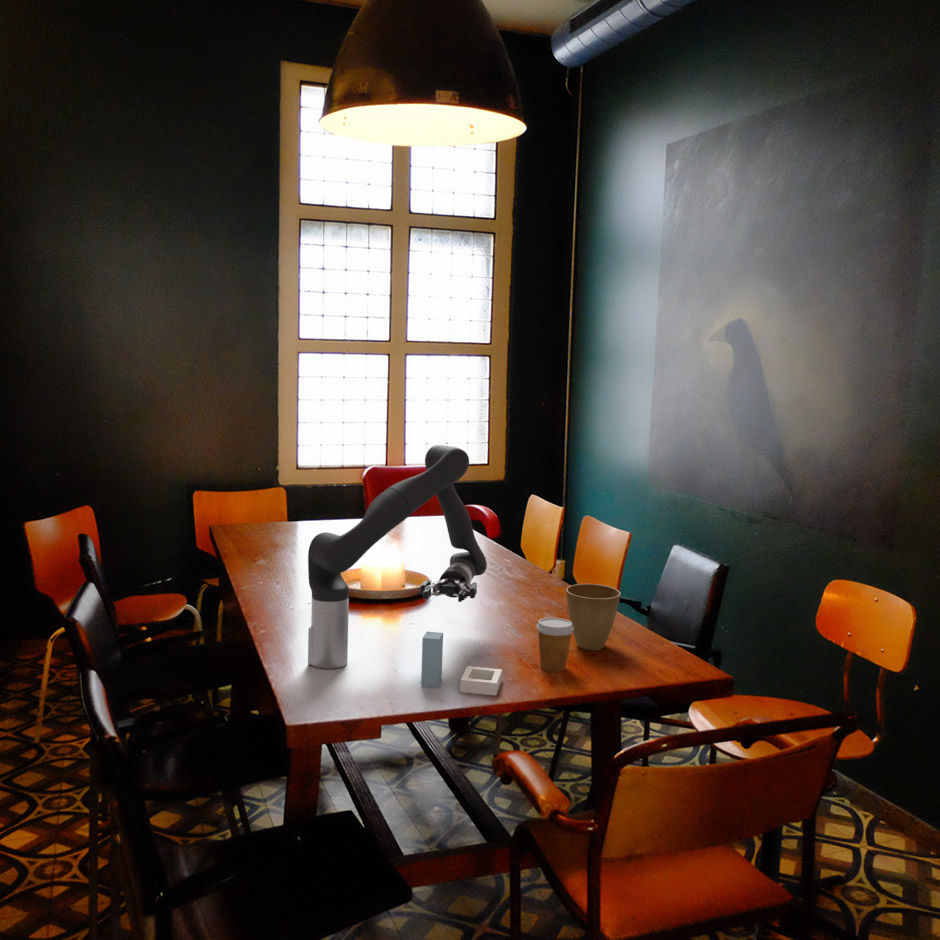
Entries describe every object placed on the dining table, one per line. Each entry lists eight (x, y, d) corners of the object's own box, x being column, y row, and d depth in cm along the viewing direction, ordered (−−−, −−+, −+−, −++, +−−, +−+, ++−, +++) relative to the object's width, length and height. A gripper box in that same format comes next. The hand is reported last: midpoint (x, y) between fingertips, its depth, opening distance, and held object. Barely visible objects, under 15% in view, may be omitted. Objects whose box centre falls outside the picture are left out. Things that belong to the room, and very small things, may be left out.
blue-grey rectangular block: (421, 686, 208) (422, 637, 207) (425, 679, 213) (427, 631, 212) (437, 687, 208) (439, 639, 206) (441, 680, 212) (443, 632, 211)
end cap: (460, 692, 205) (460, 679, 205) (466, 677, 215) (467, 666, 214) (496, 695, 204) (496, 683, 204) (501, 681, 213) (501, 669, 213)
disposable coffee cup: (568, 661, 230) (571, 617, 228) (574, 674, 220) (576, 628, 219) (532, 660, 229) (534, 616, 228) (536, 673, 220) (538, 627, 218)
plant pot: (554, 640, 247) (557, 585, 245) (600, 636, 252) (603, 582, 250) (578, 657, 233) (582, 599, 231) (627, 652, 239) (630, 595, 237)
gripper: (430, 564, 235) (415, 580, 219) (482, 567, 232) (471, 584, 217) (430, 591, 236) (415, 609, 220) (482, 594, 233) (470, 613, 218)
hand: (443, 596), depth 218 cm, fingers open, 8 cm apart
